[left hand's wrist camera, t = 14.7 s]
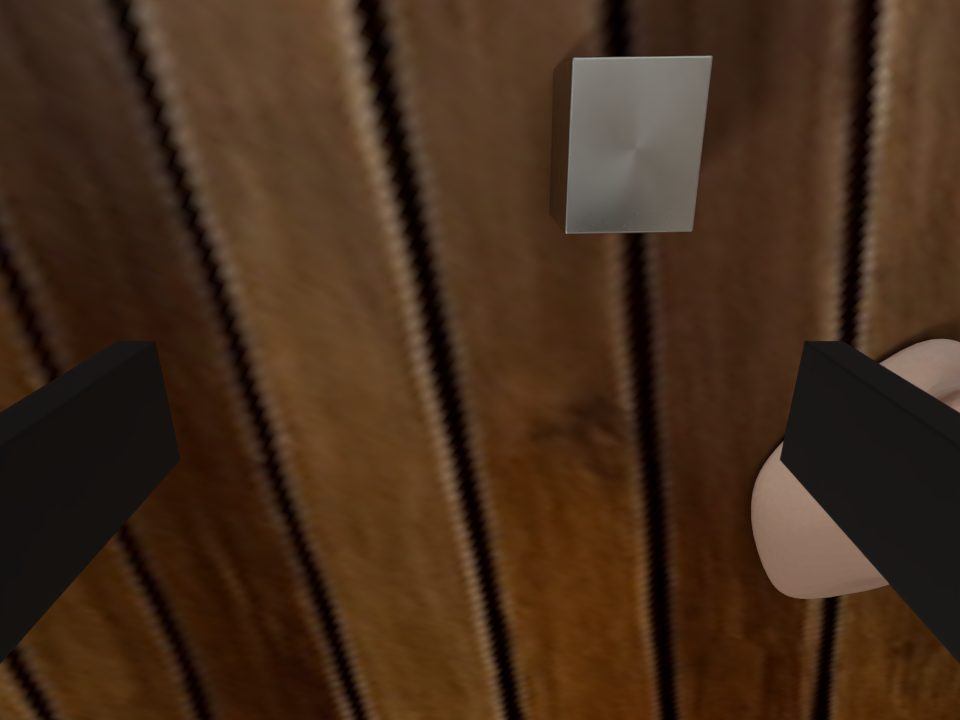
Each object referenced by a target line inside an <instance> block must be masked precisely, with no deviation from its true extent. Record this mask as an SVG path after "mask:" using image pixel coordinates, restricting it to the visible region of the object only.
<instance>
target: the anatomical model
mask: <svg viewBox="0 0 960 720" xmlns="http://www.w3.org/2000/svg"><path fill="white" fill-rule="evenodd" d="M879 364H881V365H882V366H884V367H886V368H887V369H889V370H891V371H892V372H894V373H895V374H897V375H899V376H900V377H902V378H904V379H905V380H907V381H909V382H910V383H912V384H914V385H915V386H917V387H918V388H920V389H922V390H923V391H925V392H927V393H928V394H930V395H932V396H933V397H935V398H937V399H938V400H940V401H941V402H943V403H945V404H946V405H948V406H950V407H951V408H953V409H955V410H956V411H958V412H960V342H958V341H954V340H949V339H931V340H927V341H924V342H920V343H916V344H914V345H912V346H910V347H908V348H905V349H903V350H901V351H899V352H898V353H896V354H894V355H892V356H891V357H889V358H887V359H886V360H884V361H882V362H881V363H879ZM783 442H784V441H783ZM783 442H782V443H781V444H780V445H779V446H778V447H777V448H776V450H775V451H774V452H773V453H772V454H771V456H770V457H769V458H768V460H767V461H766V462H765V464H764V465H763V467H762V469H761V471H760V473H759V475H758V477H757V479H756V482H755V486H754V489H753V494H752V502H751V521H752V528H753V535H754V539H755V542H756V546H757V550H758V553H759V556H760V559H761V562H762V565H763V567H764V569H765V571H766V573H767V575H768V577H769V579H770V580H771V582H772V583H773V585H774V586H775V587H776V588H777V589H778V590H779V591H780V592H782V593H783V594H785V595H787V596H790V597H794V598H801V599H815V598H826V597H833V596H838V595H844V594H850V593H856V592H862V591H867V590H871V589H875V588H879V587H882V586H886V585H889V583H888V582H887V581H886V580H885V578H884V577H883V576H882V575H881V574H880V573H879V572H878V571H877V569H876V568H875V567H874V566H873V565H872V564H871V563H870V561H869V560H868V559H867V558H866V557H865V556H864V555H863V554H862V552H861V551H860V550H859V549H858V548H857V547H856V546H855V544H854V543H853V542H852V541H851V540H850V539H849V538H848V537H847V535H846V534H845V533H844V532H843V531H842V530H841V529H840V528H839V526H838V525H837V524H836V523H835V522H834V521H833V520H832V518H831V517H830V516H829V515H828V514H827V513H826V512H825V511H824V509H823V508H822V507H821V506H820V505H819V504H818V503H817V501H816V500H815V499H814V498H813V497H812V496H811V495H810V494H809V492H808V491H807V490H806V489H805V488H804V487H803V486H802V484H801V483H800V482H799V481H798V480H797V479H796V478H795V477H794V475H793V474H792V473H791V472H790V471H789V470H788V469H787V468H786V466H785V465H784V464H783V463H782V462H781V461H780V456H781V451H782V446H783Z"/></svg>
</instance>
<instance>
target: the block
mask: <svg viewBox="0 0 960 720" xmlns="http://www.w3.org/2000/svg"><path fill="white" fill-rule="evenodd" d="M712 61H713V56H711V55H681V56H614V57H573V58H571V59H569V60H568V61H566V62H564V63H563V64H561V65H559V66H558V67H556V68H555V69H554V83H553V118H552V153H551V188H550V215H551V216H552V218H553V219H554V220H555V221H556V223H557V224H558V225H559V226H560V228H561V229H562V230H563V231H564V232H565V234H604V233H664V232H691V231H692V230H693V224H694V215H695V206H696V198H697V189H698V181H699V172H700V164H701V155H702V147H703V138H704V129H705V121H706V112H707V104H708V95H709V87H710V78H711V70H712Z"/></svg>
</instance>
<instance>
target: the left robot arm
mask: <svg viewBox="0 0 960 720" xmlns="http://www.w3.org/2000/svg"><path fill="white" fill-rule="evenodd" d="M179 461H180V456H179V451H178V446H177V442H176V437H175V432H174V428H173V423H172V418H171V413H170V409H169V404H168V399H167V395H166V390H165V385H164V380H163V376H162V371H161V366H160V362H159V357H158V352H157V347H156V343H155V341H117V342H115V343H114V344H112V345H110V346H109V347H107V348H106V349H104V350H102V351H101V352H99V353H97V354H96V355H94V356H92V357H91V358H89V359H88V360H86V361H84V362H83V363H81V364H79V365H78V366H76V367H74V368H73V369H71V370H69V371H68V372H66V373H65V374H63V375H61V376H60V377H58V378H56V379H55V380H53V381H51V382H50V383H48V384H46V385H45V386H43V387H42V388H40V389H38V390H37V391H35V392H33V393H32V394H30V395H28V396H27V397H25V398H23V399H22V400H20V401H19V402H17V403H15V404H14V405H12V406H10V407H9V408H7V409H5V410H4V411H2V412H0V663H1V662H2V661H3V660H4V659H5V658H6V657H7V655H8V654H9V653H10V652H11V651H12V650H13V649H14V648H15V646H16V645H17V644H18V643H19V642H20V641H21V640H22V638H23V637H24V636H25V635H26V634H27V633H28V632H29V631H30V629H31V628H32V627H33V626H34V625H35V624H36V623H37V621H38V620H39V619H40V618H41V617H42V616H43V615H44V614H45V612H46V611H47V610H48V609H49V608H50V607H51V606H52V605H53V603H54V602H55V601H56V600H57V599H58V598H59V597H60V595H61V594H62V593H63V592H64V591H65V590H66V589H67V588H68V586H69V585H70V584H71V583H72V582H73V581H74V580H75V578H76V577H77V576H78V575H79V574H80V573H81V572H82V571H83V569H84V568H85V567H86V566H87V565H88V564H89V563H90V561H91V560H92V559H93V558H94V557H95V556H96V555H97V554H98V552H99V551H100V550H101V549H102V548H103V547H104V546H105V544H106V543H107V542H108V541H109V540H110V539H111V538H112V537H113V535H114V534H115V533H116V532H117V531H118V530H119V529H120V528H121V526H122V525H123V524H124V523H125V522H126V521H127V520H128V518H129V517H130V516H131V515H132V514H133V513H134V512H135V511H136V509H137V508H138V507H139V506H140V505H141V504H142V503H143V501H144V500H145V499H146V498H147V497H148V496H149V495H150V494H151V492H152V491H153V490H154V489H155V488H156V487H157V486H158V484H159V483H160V482H161V481H162V480H163V479H164V478H165V477H166V475H167V474H168V473H169V472H170V471H171V470H172V469H173V468H174V466H175V465H176V464H177V463H178V462H179ZM780 461H781V462H782V463H783V464H784V465H785V466H786V468H787V469H788V470H789V471H790V472H791V473H792V474H793V475H794V477H795V478H796V479H797V480H798V481H799V482H800V483H801V484H802V486H803V487H804V488H805V489H806V490H807V491H808V492H809V494H810V495H811V496H812V497H813V498H814V499H815V500H816V501H817V503H818V504H819V505H820V506H821V507H822V508H823V509H824V511H825V512H826V513H827V514H828V515H829V516H830V517H831V518H832V520H833V521H834V522H835V523H836V524H837V525H838V526H839V528H840V529H841V530H842V531H843V532H844V533H845V534H846V535H847V537H848V538H849V539H850V540H851V541H852V542H853V543H854V544H855V546H856V547H857V548H858V549H859V550H860V551H861V552H862V554H863V555H864V556H865V557H866V558H867V559H868V560H869V561H870V563H871V564H872V565H873V566H874V567H875V568H876V569H877V571H878V572H879V573H880V574H881V575H882V576H883V577H884V578H885V580H886V581H887V582H888V583H889V584H890V585H891V586H892V588H893V589H894V590H895V591H896V592H897V593H898V594H899V595H900V597H901V598H902V599H903V600H904V601H905V602H906V603H907V605H908V606H909V607H910V608H911V609H912V610H913V611H914V612H915V614H916V615H917V616H918V617H919V618H920V619H921V620H922V621H923V623H924V624H925V625H926V626H927V627H928V628H929V629H930V631H931V632H932V633H933V634H934V635H935V636H936V637H937V638H938V640H939V641H940V642H941V643H942V644H943V645H944V646H945V648H946V649H947V650H948V651H949V652H950V653H951V654H952V655H953V657H954V658H955V659H956V660H957V661H958V662H959V663H960V412H958V411H956V410H955V409H953V408H951V407H950V406H948V405H946V404H945V403H943V402H941V401H940V400H938V399H937V398H935V397H933V396H932V395H930V394H928V393H927V392H925V391H923V390H922V389H920V388H918V387H917V386H915V385H914V384H912V383H910V382H909V381H907V380H905V379H904V378H902V377H900V376H899V375H897V374H895V373H894V372H892V371H891V370H889V369H887V368H886V367H884V366H882V365H881V364H879V363H877V362H876V361H874V360H872V359H871V358H869V357H868V356H866V355H864V354H863V353H861V352H859V351H858V350H856V349H854V348H853V347H851V346H850V345H848V344H846V343H845V342H843V341H805V343H804V347H803V352H802V357H801V362H800V366H799V371H798V376H797V380H796V385H795V390H794V395H793V399H792V404H791V409H790V413H789V418H788V423H787V428H786V432H785V437H784V442H783V446H782V451H781V456H780Z"/></svg>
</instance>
